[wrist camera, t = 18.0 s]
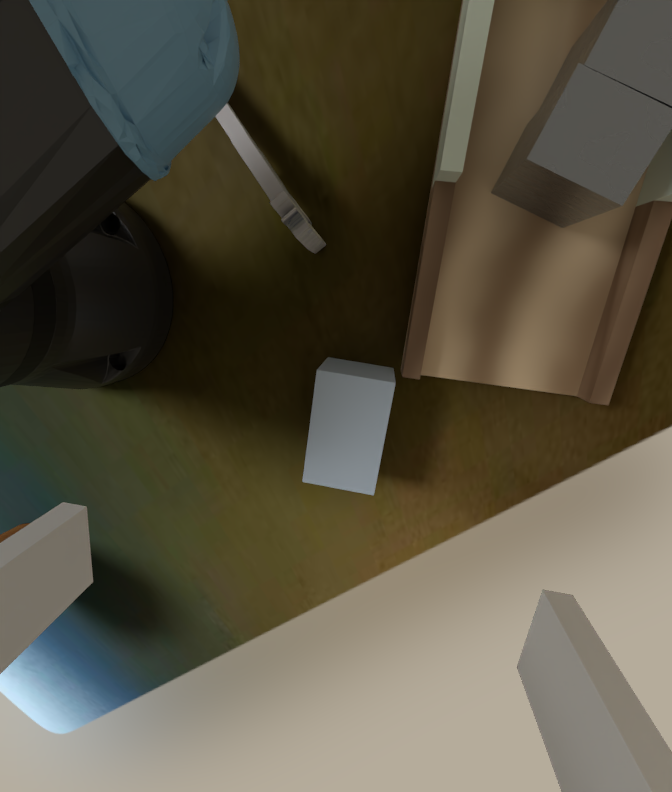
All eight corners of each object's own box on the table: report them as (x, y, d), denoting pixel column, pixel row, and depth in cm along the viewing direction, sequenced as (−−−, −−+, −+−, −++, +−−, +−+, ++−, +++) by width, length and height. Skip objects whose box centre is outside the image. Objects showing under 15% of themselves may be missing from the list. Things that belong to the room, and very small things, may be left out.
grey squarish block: (490, 192, 23) (526, 159, 17) (527, 124, 22) (578, 62, 16) (562, 228, 23) (622, 206, 17) (602, 161, 22) (681, 113, 16)
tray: (431, 188, 23) (439, 170, 20) (473, -59, 20) (491, -130, 17) (656, 208, 22) (705, 193, 19) (740, -50, 19) (818, -124, 15)
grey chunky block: (530, 125, 22) (583, 64, 16) (570, 48, 21) (643, -47, 15) (607, 161, 22) (687, 113, 16) (651, 86, 21) (755, 5, 15)
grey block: (302, 481, 25) (316, 369, 23) (314, 452, 30) (328, 356, 28) (373, 495, 25) (395, 382, 23) (375, 463, 30) (393, 367, 28)
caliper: (329, 245, 26) (312, 230, 20) (316, 255, 26) (297, 244, 20) (136, -34, 23) (50, -150, 17) (125, -19, 23) (35, -128, 17)
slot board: (400, 369, 27) (402, 377, 25) (469, -46, 21) (480, -88, 18) (588, 395, 26) (608, 405, 24) (726, -36, 19) (772, -80, 17)
